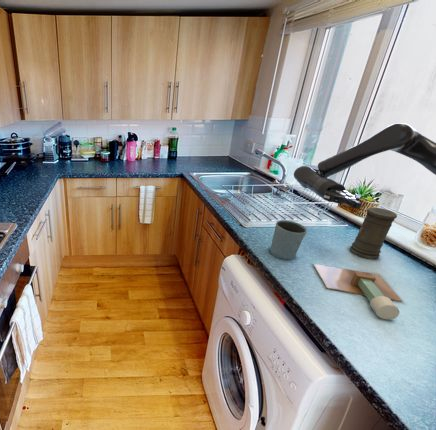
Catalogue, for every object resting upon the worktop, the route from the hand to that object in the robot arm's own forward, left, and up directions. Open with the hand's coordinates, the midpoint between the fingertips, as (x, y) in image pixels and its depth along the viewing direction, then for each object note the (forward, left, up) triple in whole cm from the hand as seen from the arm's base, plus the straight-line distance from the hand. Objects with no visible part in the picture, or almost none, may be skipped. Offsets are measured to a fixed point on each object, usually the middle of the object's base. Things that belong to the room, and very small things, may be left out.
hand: (358, 206), depth 97 cm
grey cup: (+18, 0, -23) cm, 29 cm away
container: (-13, -11, -23) cm, 29 cm away
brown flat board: (-1, +12, -23) cm, 26 cm away
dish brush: (-2, +13, -20) cm, 24 cm away
